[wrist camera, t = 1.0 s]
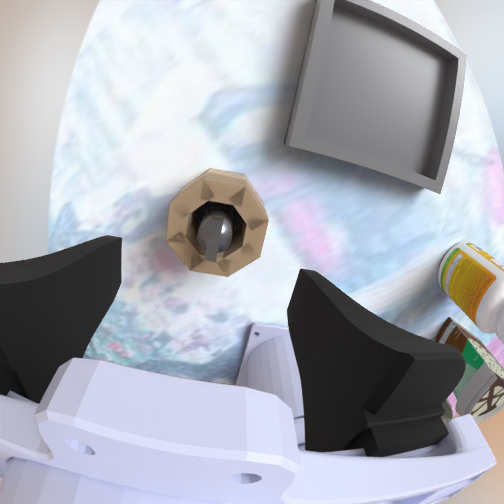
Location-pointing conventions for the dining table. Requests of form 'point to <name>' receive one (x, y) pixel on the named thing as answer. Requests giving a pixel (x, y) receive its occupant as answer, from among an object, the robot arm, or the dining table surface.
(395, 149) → the tray
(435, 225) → the dining table surface
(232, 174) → the ring
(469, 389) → the food container
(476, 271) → the supplement bottle
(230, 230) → the stake
